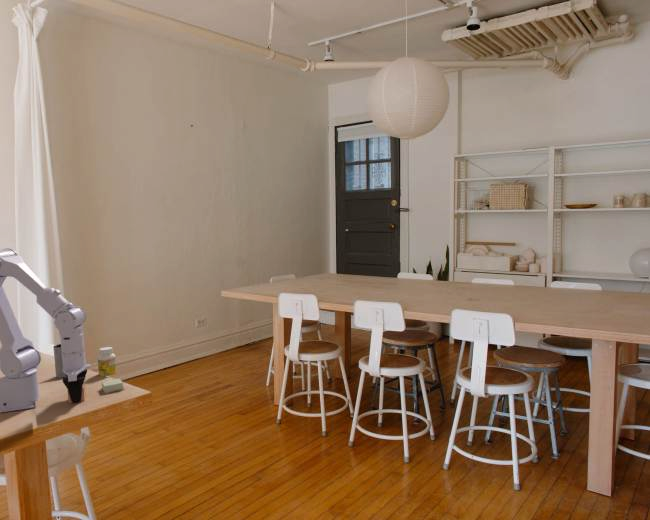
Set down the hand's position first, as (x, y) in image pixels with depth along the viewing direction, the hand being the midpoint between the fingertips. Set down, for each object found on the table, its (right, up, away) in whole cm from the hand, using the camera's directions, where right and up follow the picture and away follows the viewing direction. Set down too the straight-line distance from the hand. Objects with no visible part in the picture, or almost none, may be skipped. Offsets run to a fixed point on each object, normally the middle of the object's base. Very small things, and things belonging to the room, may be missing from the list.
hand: (77, 399), depth 148 cm
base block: (+7, -1, +8) cm, 11 cm away
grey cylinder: (-17, 0, +28) cm, 33 cm away
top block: (+7, +1, +8) cm, 10 cm away
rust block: (0, -1, 0) cm, 1 cm away
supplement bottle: (-1, 0, +24) cm, 24 cm away
